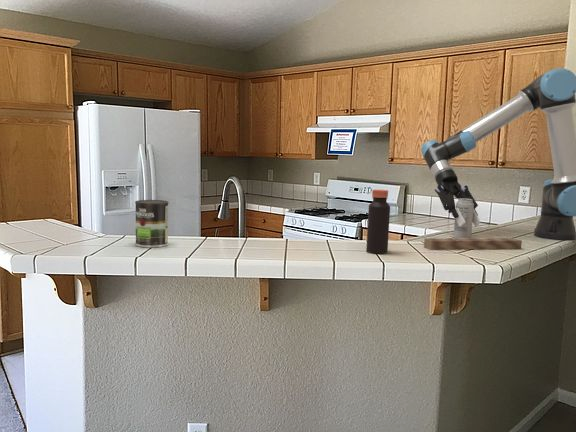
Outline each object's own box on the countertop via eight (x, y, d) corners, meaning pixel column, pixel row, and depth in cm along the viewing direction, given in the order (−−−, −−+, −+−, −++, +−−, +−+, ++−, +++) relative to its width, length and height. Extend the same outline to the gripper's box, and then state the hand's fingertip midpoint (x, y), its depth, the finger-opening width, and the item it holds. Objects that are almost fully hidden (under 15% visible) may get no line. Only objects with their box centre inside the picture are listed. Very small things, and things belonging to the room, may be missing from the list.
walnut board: (512, 246, 184) (512, 237, 183) (521, 249, 179) (521, 240, 178) (423, 247, 177) (424, 238, 176) (430, 250, 172) (431, 240, 171)
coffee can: (156, 249, 159) (156, 204, 158) (128, 245, 163) (128, 201, 161) (174, 243, 169) (174, 201, 167) (148, 240, 173) (147, 198, 171)
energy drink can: (474, 241, 185) (477, 199, 183) (463, 242, 181) (467, 200, 179) (460, 238, 190) (463, 197, 188) (449, 239, 186) (453, 198, 184)
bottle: (365, 249, 169) (368, 189, 166) (385, 250, 169) (389, 189, 166) (367, 253, 162) (370, 190, 160) (389, 254, 162) (392, 191, 159)
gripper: (459, 181, 200) (485, 229, 188) (418, 181, 194) (442, 231, 181) (469, 168, 195) (497, 217, 182) (428, 167, 188) (454, 218, 175)
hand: (470, 224), depth 181 cm, fingers closed on energy drink can, 6 cm apart
